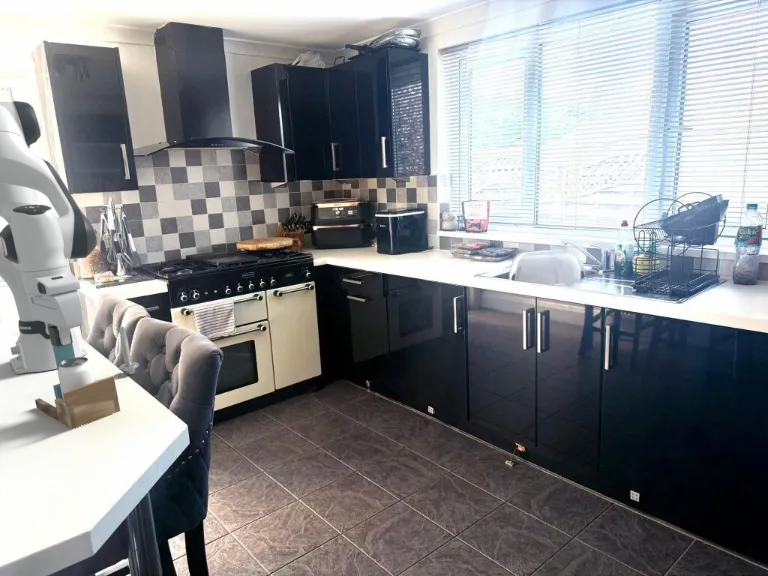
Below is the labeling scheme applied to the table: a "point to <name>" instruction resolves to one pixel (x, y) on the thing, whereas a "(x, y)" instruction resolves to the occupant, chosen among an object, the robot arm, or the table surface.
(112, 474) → the table surface
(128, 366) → the screw
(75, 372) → the can
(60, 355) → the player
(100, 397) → the wooden box
